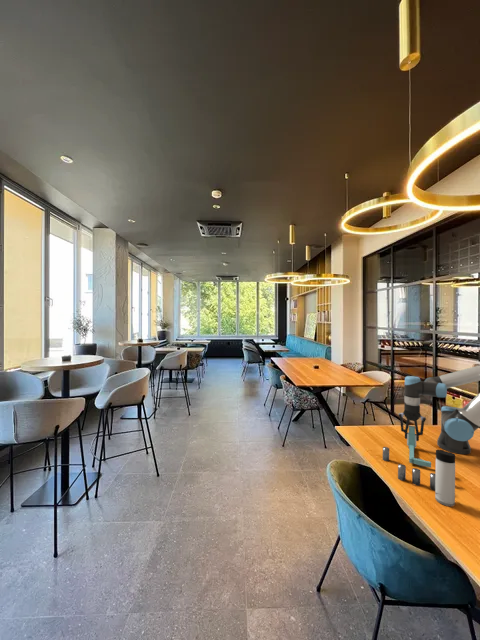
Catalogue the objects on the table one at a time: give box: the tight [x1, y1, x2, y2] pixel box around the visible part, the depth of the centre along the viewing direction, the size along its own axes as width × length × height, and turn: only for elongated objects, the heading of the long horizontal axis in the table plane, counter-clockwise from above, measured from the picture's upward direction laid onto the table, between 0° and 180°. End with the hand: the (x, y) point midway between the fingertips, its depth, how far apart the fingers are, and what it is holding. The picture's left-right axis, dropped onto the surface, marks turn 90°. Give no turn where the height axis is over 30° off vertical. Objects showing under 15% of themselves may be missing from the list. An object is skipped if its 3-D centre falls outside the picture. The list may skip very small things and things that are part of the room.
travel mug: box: [434, 449, 456, 507], centre depth 110 cm, size 6×7×20 cm
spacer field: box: [382, 446, 436, 492], centre depth 130 cm, size 26×20×6 cm
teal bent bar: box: [408, 424, 432, 469], centre depth 146 cm, size 24×10×12 cm, turn 148°
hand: (411, 445), depth 157 cm, fingers closed on teal bent bar, 3 cm apart
